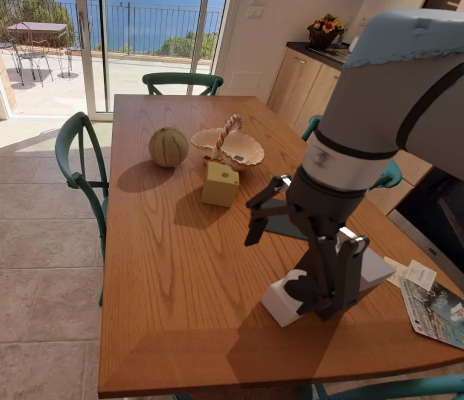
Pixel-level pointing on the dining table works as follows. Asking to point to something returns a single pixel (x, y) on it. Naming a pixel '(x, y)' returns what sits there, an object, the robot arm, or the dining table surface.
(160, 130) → the cantaloupe
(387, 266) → the lidded grey box
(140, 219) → the dining table surface
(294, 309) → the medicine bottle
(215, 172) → the cheese
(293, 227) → the mat
